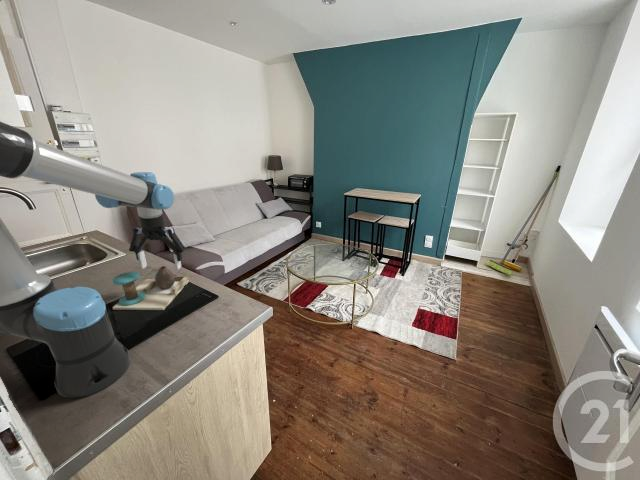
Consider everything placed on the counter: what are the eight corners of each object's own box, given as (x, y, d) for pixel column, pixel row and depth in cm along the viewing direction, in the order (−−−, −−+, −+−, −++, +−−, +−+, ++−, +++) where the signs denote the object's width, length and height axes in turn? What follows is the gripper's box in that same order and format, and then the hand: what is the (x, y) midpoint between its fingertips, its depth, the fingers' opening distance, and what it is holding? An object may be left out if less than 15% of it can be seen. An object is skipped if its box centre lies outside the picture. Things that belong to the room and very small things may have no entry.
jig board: (163, 310, 95) (157, 284, 91) (113, 309, 94) (104, 284, 90) (188, 281, 113) (184, 259, 109) (146, 281, 113) (141, 259, 109)
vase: (161, 293, 103) (156, 273, 100) (154, 286, 107) (149, 267, 104) (179, 286, 108) (175, 267, 105) (171, 280, 112) (167, 262, 109)
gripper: (189, 213, 100) (197, 264, 107) (123, 212, 99) (135, 263, 107) (180, 219, 93) (188, 272, 100) (109, 217, 92) (122, 271, 100)
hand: (161, 267), depth 103 cm, fingers open, 13 cm apart
